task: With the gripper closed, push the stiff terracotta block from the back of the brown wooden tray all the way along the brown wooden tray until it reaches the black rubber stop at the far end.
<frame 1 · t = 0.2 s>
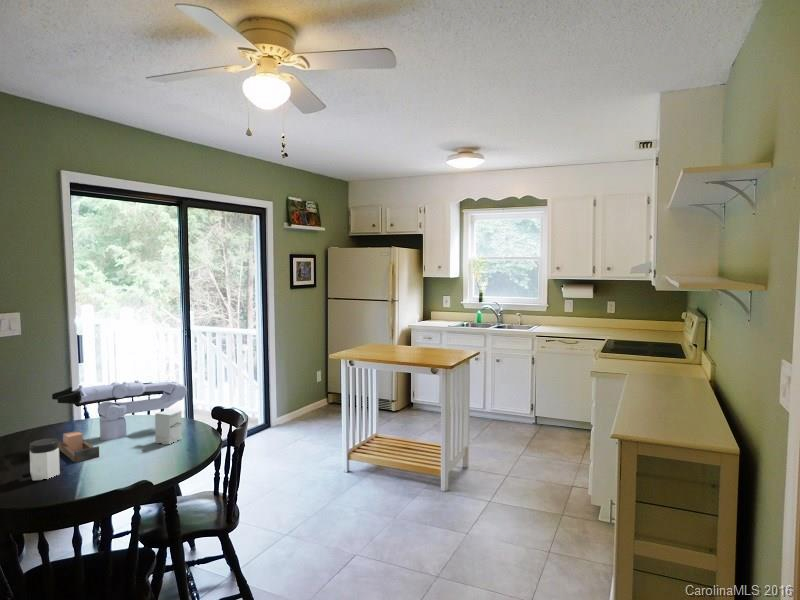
hand: (54, 398, 202), 21 cm above the table, tool horizontal, fingers open, 7 cm apart
jar: (45, 476, 179), on the table
brown wooden tray: (78, 455, 199), on the table
supplement box: (168, 442, 216), on the table
terracotta block: (72, 441, 203), point 4 cm above the table, slide at 0.0 cm
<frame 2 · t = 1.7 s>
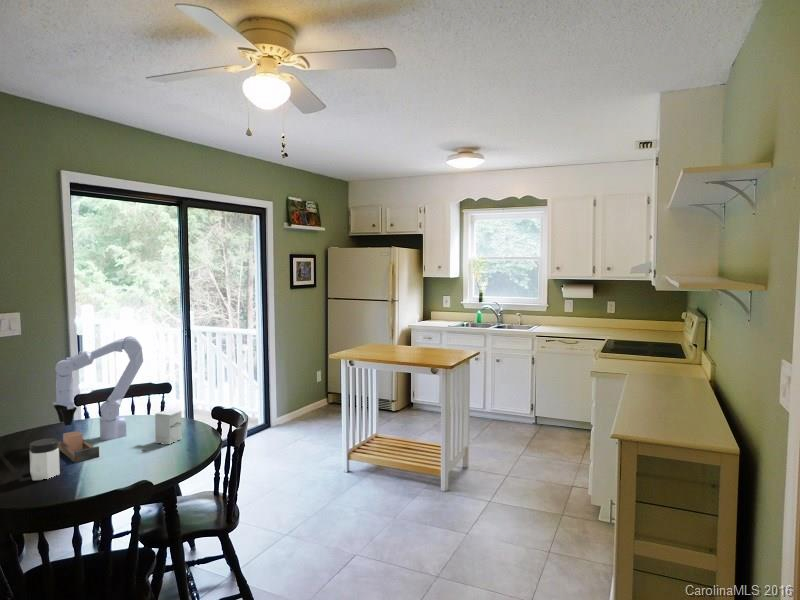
hand: (65, 423, 208), 9 cm above the table, tool pointing down, fingers open, 6 cm apart
nothing on the table moved.
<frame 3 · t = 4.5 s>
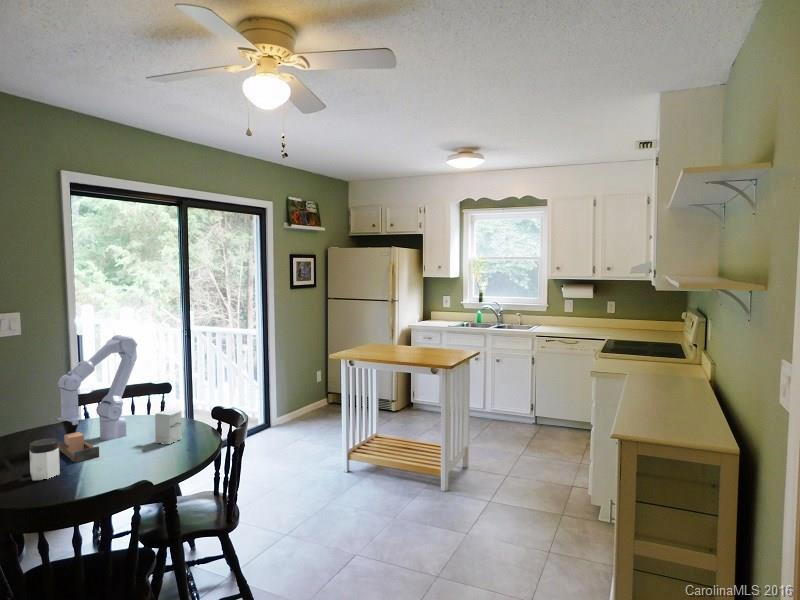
hand: (70, 439, 204), 4 cm above the table, tool pointing down, fingers closed
terracotta block: (74, 442, 202), point 4 cm above the table, slide at 1.6 cm, touching gripper
everything else where it was.
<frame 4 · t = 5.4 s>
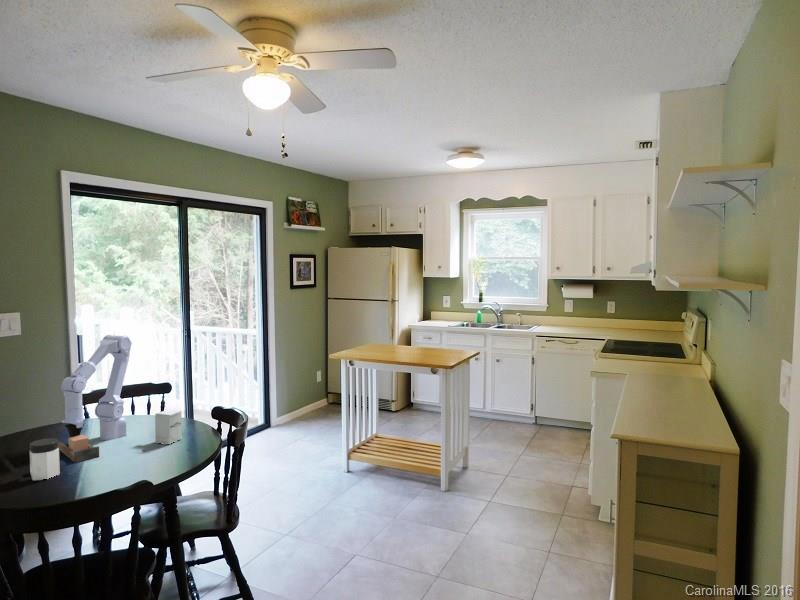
hand: (74, 442, 201), 4 cm above the table, tool pointing down, fingers closed
terracotta block: (78, 445, 198), point 4 cm above the table, slide at 6.9 cm, touching gripper
everything else where it was.
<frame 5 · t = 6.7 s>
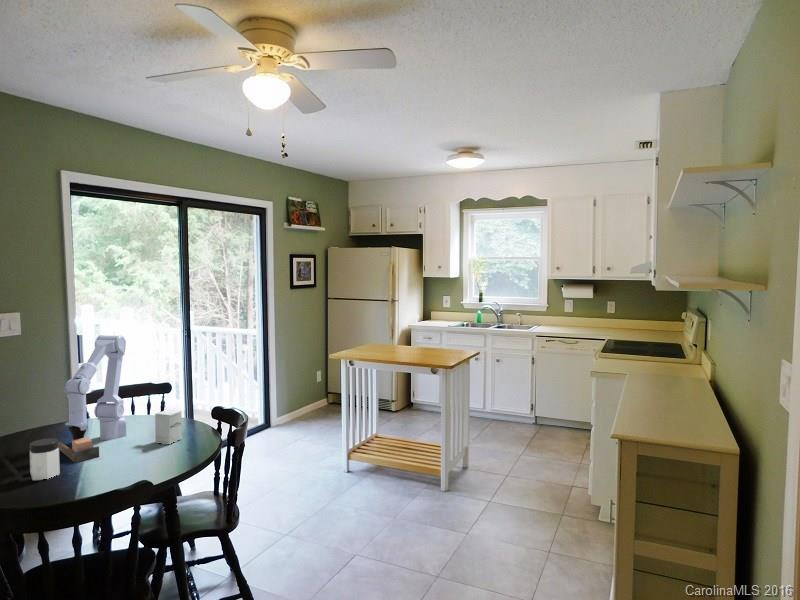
hand: (78, 444, 198), 4 cm above the table, tool pointing down, fingers closed
terracotta block: (82, 448, 195), point 4 cm above the table, slide at 11.4 cm, touching gripper
everything else where it was.
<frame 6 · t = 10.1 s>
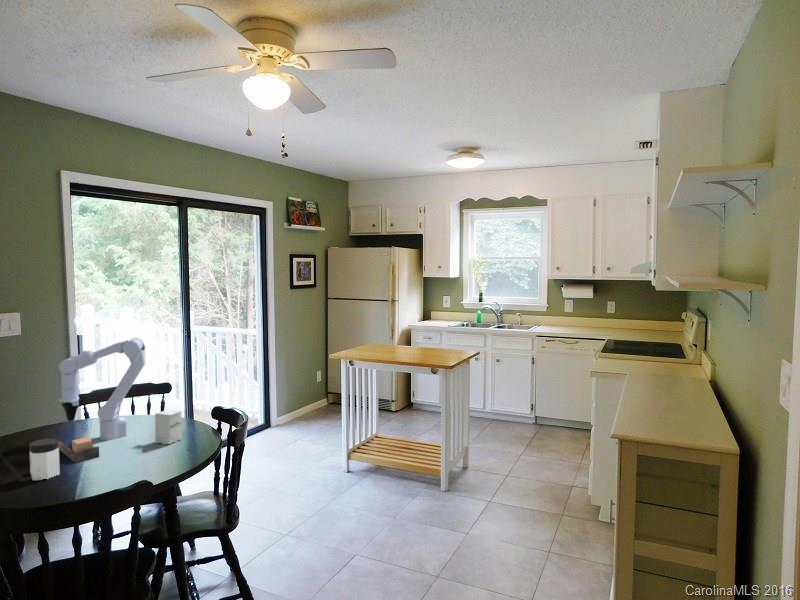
hand: (71, 419, 213), 9 cm above the table, tool pointing down, fingers closed
terracotta block: (82, 448, 195), point 4 cm above the table, slide at 11.4 cm
everything else where it was.
at the end: terracotta block slide at 11.4 cm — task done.
